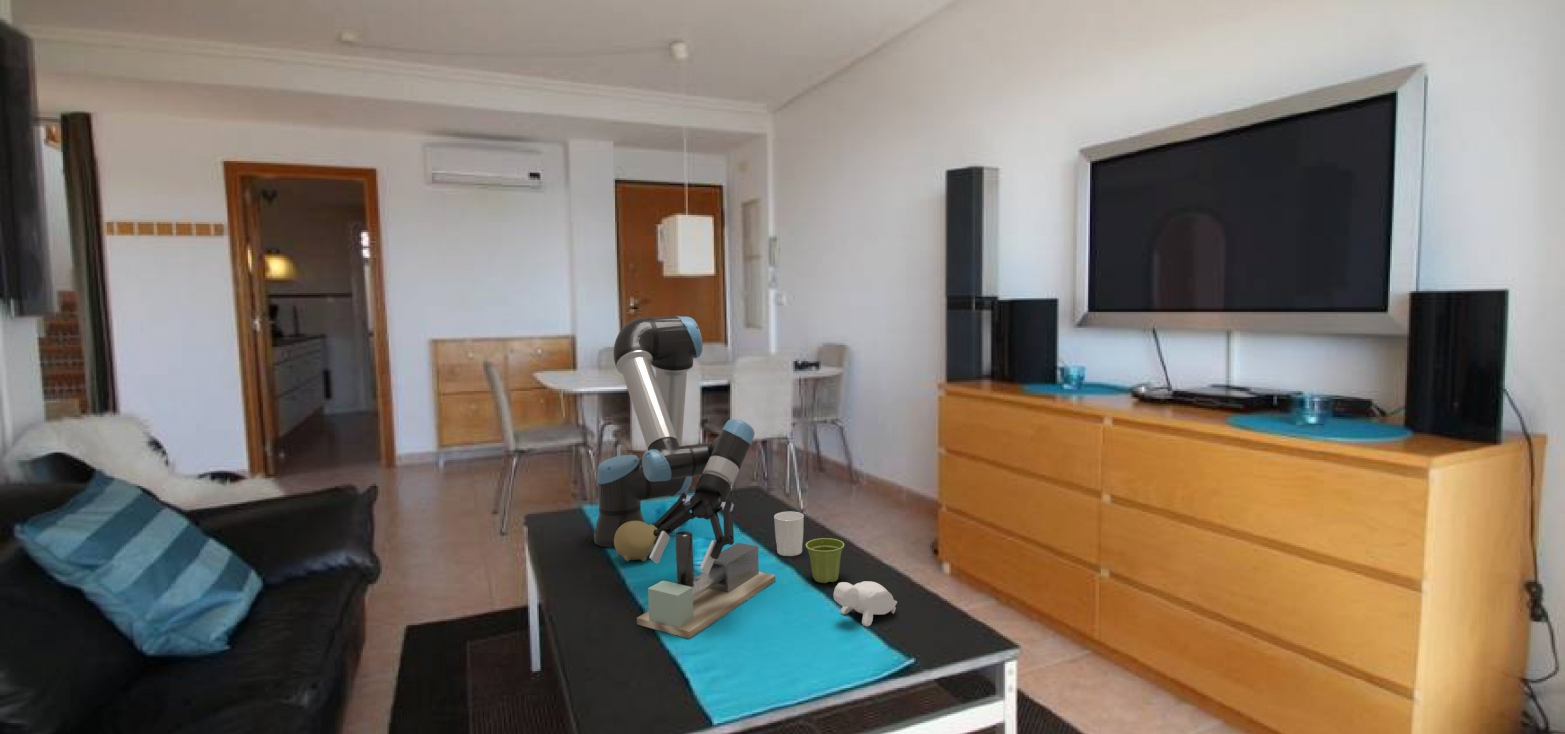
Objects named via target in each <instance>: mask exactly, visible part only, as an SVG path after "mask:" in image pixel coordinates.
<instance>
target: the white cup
mask: <svg viewBox="0 0 1565 734" xmlns="http://www.w3.org/2000/svg"><path fill="white" fill-rule="evenodd" d="M804 516H805V515H804V514H803V513H802V512H798V511H781V512H778V513H775V514H774V516H773V520H774V535H775V542H776V551H777V552H776V553H777V554H778V555H780V556H783V557H795V556H799V555H801V554H802V553H803V542H804V518H805V517H804Z"/></svg>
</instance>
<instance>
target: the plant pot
mask: <svg viewBox="0 0 1565 734" xmlns="http://www.w3.org/2000/svg"><path fill="white" fill-rule="evenodd" d="M805 548H806V549H807V553H808V554H809V559H810V560H809V561H810V565H811V566H810V567H811V572H812V578H813V579H814V581H815V582H817V583H821V584H827V583H829V582H831V583H835V582H836V581H838V579H839V575H840V566H841V556H842V553H843V549H844V548H845V543H844V541H842V540H839V539H836V538H831V537H830V538H827V537H826V538H825V537H822V538H814V539H811V540H809V541H807V542H806V543H805Z"/></svg>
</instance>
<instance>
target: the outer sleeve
mask: <svg viewBox="0 0 1565 734" xmlns="http://www.w3.org/2000/svg"><path fill="white" fill-rule="evenodd" d="M718 564H719V565H724V566H725V568H726V578H725V579H723V580H722V581H720V582H718V583H717V584H715V585H713V586H712V587H710V589H714V590H718V591H723V592H727V593H729V592H730V591H732V590H734V589H735V588H737V587H738V586H740V585H742V584H743V583H745V582H746V581H748V580H749V579H751V578H753V577H754V576H756V575H757V574H759V572H760V571H759V570H760V569H759V568H760V567H759V566H760V563H759V545H753V544H748V543H742V542H736V543H734V544H732V545H730V546H729V547H728V548H726V549H724V550H722V551H721V553H720V555H719V557H718V559H715V560H714V562H713V565H712V567H714V566H716V565H718ZM712 567H711V568H712Z"/></svg>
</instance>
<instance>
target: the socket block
mask: <svg viewBox="0 0 1565 734" xmlns="http://www.w3.org/2000/svg"><path fill="white" fill-rule="evenodd" d="M647 597H648V598H647V600H648V611H649V620H652V621H656V622H659V623H663V624H667V625H671V626H674V627H678V628H679V627H681V626H683V625H684V624H686V623H687V622H689V621H690V620H692V619H694V618H693V591H692V587H689V586H685V585H680V584H677V582H676V583H675V582H672V581H666V580H661V581H659V582H657V583H655V584H654V585H651V586H649V587H648V588H647Z"/></svg>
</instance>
